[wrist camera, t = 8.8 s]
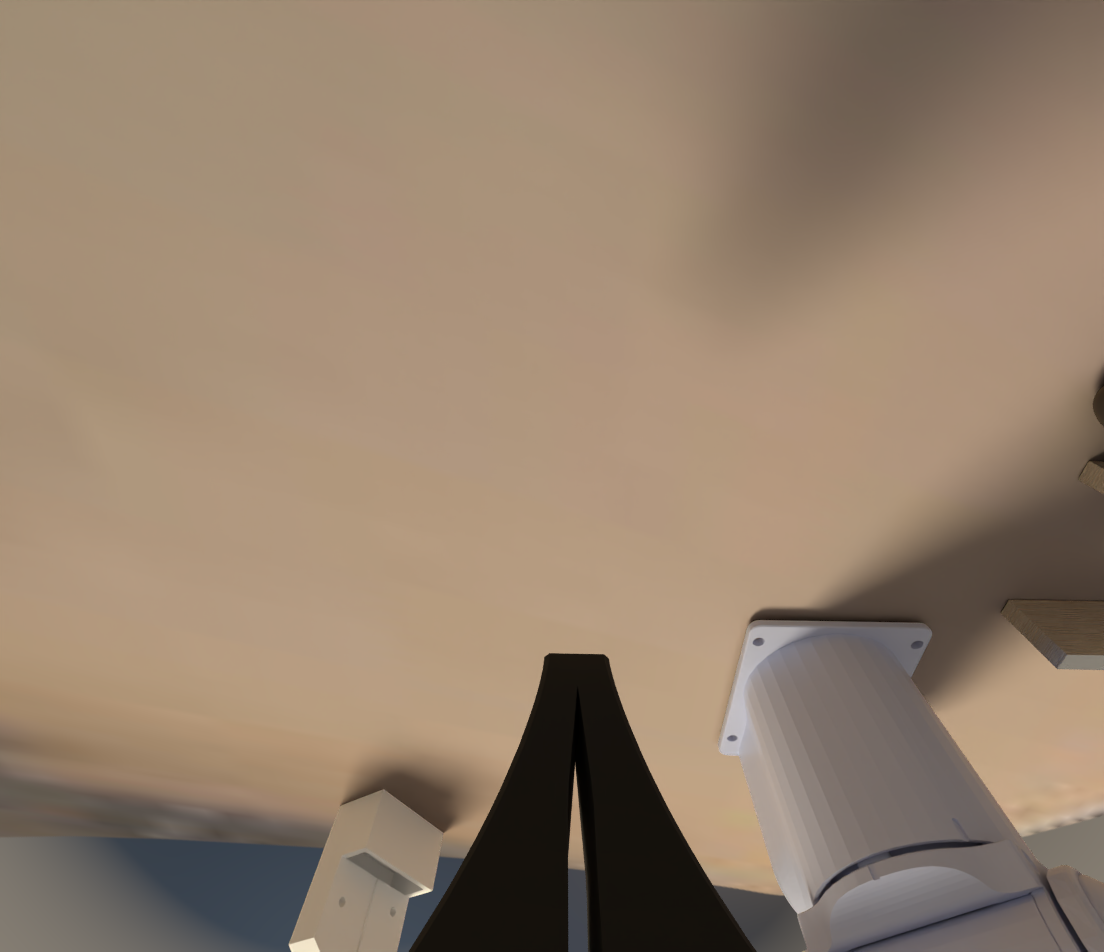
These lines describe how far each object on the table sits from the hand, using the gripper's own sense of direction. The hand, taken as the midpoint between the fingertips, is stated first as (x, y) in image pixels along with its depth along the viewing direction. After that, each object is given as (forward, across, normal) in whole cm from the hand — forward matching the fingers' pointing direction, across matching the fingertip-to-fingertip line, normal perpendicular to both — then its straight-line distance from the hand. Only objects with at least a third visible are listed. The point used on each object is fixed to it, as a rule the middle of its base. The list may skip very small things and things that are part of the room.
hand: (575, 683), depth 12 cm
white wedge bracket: (+10, +11, +25) cm, 29 cm away
